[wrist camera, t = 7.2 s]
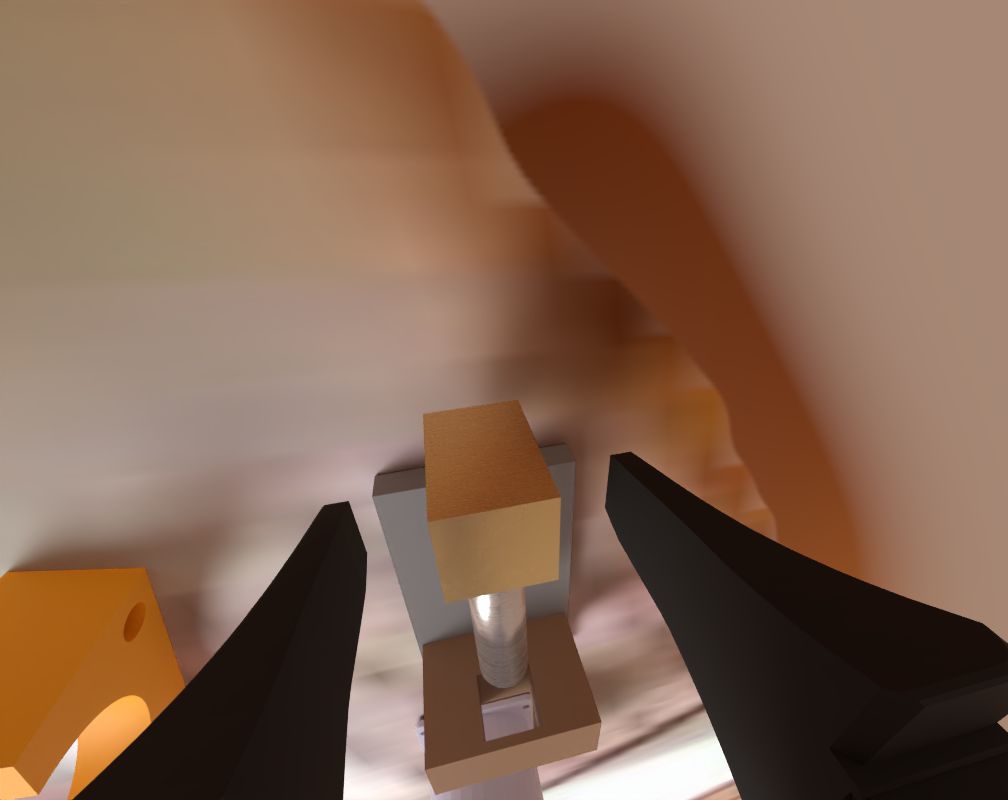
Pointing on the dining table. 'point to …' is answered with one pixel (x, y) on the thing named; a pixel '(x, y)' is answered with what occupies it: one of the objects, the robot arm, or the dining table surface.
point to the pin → (491, 525)
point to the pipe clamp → (78, 671)
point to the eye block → (453, 653)
